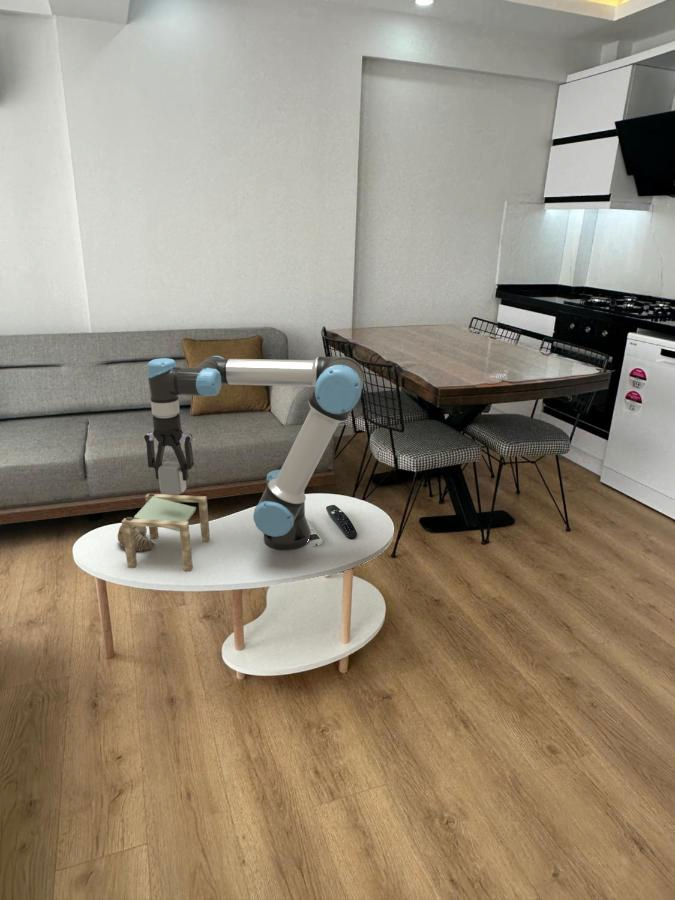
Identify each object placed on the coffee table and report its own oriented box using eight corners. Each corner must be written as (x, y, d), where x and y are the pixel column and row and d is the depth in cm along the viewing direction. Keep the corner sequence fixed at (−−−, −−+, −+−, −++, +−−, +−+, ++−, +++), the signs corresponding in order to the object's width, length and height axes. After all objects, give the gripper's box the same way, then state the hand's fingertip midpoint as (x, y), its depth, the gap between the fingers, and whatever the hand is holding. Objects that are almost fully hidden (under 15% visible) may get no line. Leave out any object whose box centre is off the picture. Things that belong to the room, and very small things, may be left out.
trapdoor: (194, 517, 189) (196, 507, 187) (179, 539, 175) (180, 528, 174) (151, 506, 189) (152, 496, 187) (132, 527, 176) (133, 517, 174)
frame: (209, 539, 194) (206, 494, 188) (190, 571, 176) (185, 523, 170) (152, 536, 195) (147, 492, 190) (127, 567, 178) (121, 519, 172)
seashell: (131, 544, 198) (115, 520, 195) (159, 530, 199) (143, 506, 195) (126, 565, 186) (108, 539, 182) (156, 549, 186) (138, 524, 182)
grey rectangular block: (185, 486, 180) (183, 462, 177) (179, 494, 175) (176, 469, 172) (167, 486, 181) (165, 461, 178) (161, 493, 176) (158, 468, 173)
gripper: (202, 411, 172) (207, 485, 181) (139, 409, 174) (148, 482, 182) (193, 419, 165) (200, 496, 174) (128, 417, 167) (137, 493, 175)
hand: (173, 489), depth 178 cm, fingers closed on grey rectangular block, 5 cm apart
